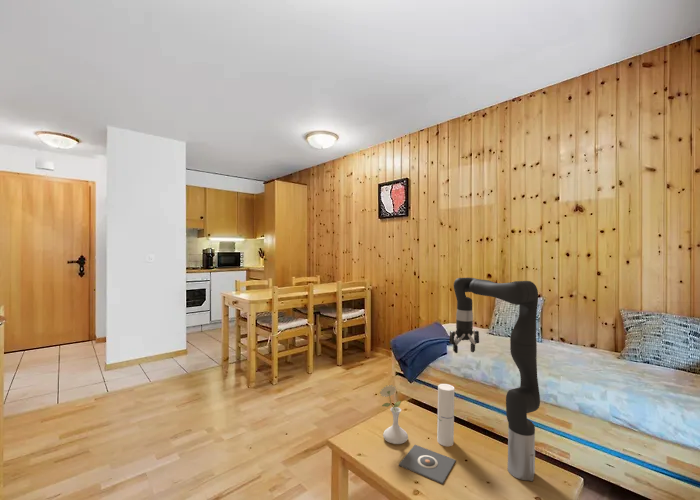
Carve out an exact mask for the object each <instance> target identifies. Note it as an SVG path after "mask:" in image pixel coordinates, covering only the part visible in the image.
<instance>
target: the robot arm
mask: <svg viewBox="0 0 700 500" xmlns="http://www.w3.org/2000/svg"><path fill="white" fill-rule="evenodd" d="M453 290H454V294H455V297H456V314H455V316H456V317H455V319H456V321H455V323H456V324H455V326H456V327H455V328H456V330H455V331H453V330H450V331H449V338H448V339H449V340H448V341H449V344H451V345H452V348H453V349H452V350H453V352H454V353H455V354H458V353H459V349H458V348H459V347H458V344H459V343H461V341H468V342H470V352H471V353H475V351H476V344H479V343H480V333H479V330H477V329H474V327H473V325H474V315H473V314H474V313H473V298H471V297H468V296H467V295H466V293H473V294H474V295H477V296H484V297H491V298H495V299H499V300H500V301H501V300H502V301H504V302H507V303H509V304H512V305H516V306H519V313H518V317H517V320H516V321H515V324H514V326H513V327H512V331H511V333H510V339H509V342H510V347H509V348H510V355H511V357H512V360H513V361H514V364H515V366H516V367H517V369H518V371H519V372H518V373H519V375H520V376H519V377H520V384H519V385H520V386H519V387H515V388H511V389H508V391H507V393H506V396H505V410H506V411H505V412H506V413H505V415H506V420H507V423H508V424H507V425H508V429H507V430H508V431H507V433H508V434H507V436H508V437H507V440H508V441H507V471H508V473H509V474H510V475H511V476H513V477H514V478H516V479H519V480H522V481H531V482H534V478H535V473H536V472H535V471H536V469H535V468H536V464H535V463H536V448H535V438H536V436H535V435H536V426H535V424H534V423H533V422H532V421H531V420H529V419H528V414H530V413H533V412H535V411H537V410H539V408H540V406H541V397H540V396H541V395H540V389H539V387H540V386H539V380H538V366H537V363H538V362H537V354H538V353H537V352H538V351H537V350H538V349H537V346H538V344H537V314H538V313H537V311H538V302H539V291H538V288H537V285H536V284H535V283H534V282H533V281H531V280H519V281H518V280H517V281H516V280H514V281H512V282H503V283H501V282H495V281H492V280H488V279H481V278H475V277H457V278H455V280H454V282H453ZM473 329H474V330H473ZM472 336H473V337H472Z"/></svg>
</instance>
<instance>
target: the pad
mask: <svg viewBox="0 0 700 500" xmlns="http://www.w3.org/2000/svg"><path fill="white" fill-rule="evenodd" d="M456 461H457V460H456V459H455V458H451V457H449V456H446V455H443V454H442V453H438V452H436V451H433V450H431V449H428V448H425V447H423V446H420V445H418V444H414V445H413V446H412V448H411V449H410V450H409V451H408V452H407V454H406V455H405V456H404V457H403V459H401V461H400V462H399V463H398V466H399V467H402V468H404V469H406V470H408V471H411V472H413V473H416V474H417V475H420V476H422V477H424V478H427V479H429V480H432V481H434V482H437V483H438V484H441V485H444V483H445V480H446V479H447V477H448V476H449V473H450V472H451V471H452V469H453V467H454V466H455V463H456Z"/></svg>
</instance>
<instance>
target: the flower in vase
mask: <svg viewBox="0 0 700 500" xmlns="http://www.w3.org/2000/svg"><path fill="white" fill-rule="evenodd" d="M396 392H397V388H396V386H395V385H393V384H391V385H390V384H389V385H385V386H384V387H383V388H381V390H380V392H379V394H380V396H381V397H382V398H383V397H384V398H386V397H387V398H388V397H389V398H391V396H393V395H395V393H396ZM391 401H392V400H391V399H389V402H390V403H389V402H385V403H383V404H382V405H381V407H387V408H388V407H390V406H391V407H390V409H389V410H390V412H391V413H392V425H391V426H389V427H386V429H385V430H384V431H383V434H382V436H383V439H384V440H385V441H386V442H388V443H390V444H394V445H402V444H404V443H406V442H407V441H408V439H409V436H408V433H407V431H406V430H405V429H404V428H402V427H401V426H400V425H399V417H400V414H401V411H402V408H400V405H401V403H402V402H401V401H402V400H398V401H396V402H395V403H394V405H393V404H392V402H391Z"/></svg>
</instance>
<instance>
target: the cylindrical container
mask: <svg viewBox="0 0 700 500" xmlns="http://www.w3.org/2000/svg"><path fill="white" fill-rule="evenodd" d="M436 426H437V433H436V436H437V438H436V441H437V443H438V444H439V445H441V446H443V447H452V446H453V445H454V435H455V432H454V431H455V429H454V428H455V387H454V386H453V385H452V384H449V383H439V384H438V385H437V425H436Z"/></svg>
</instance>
